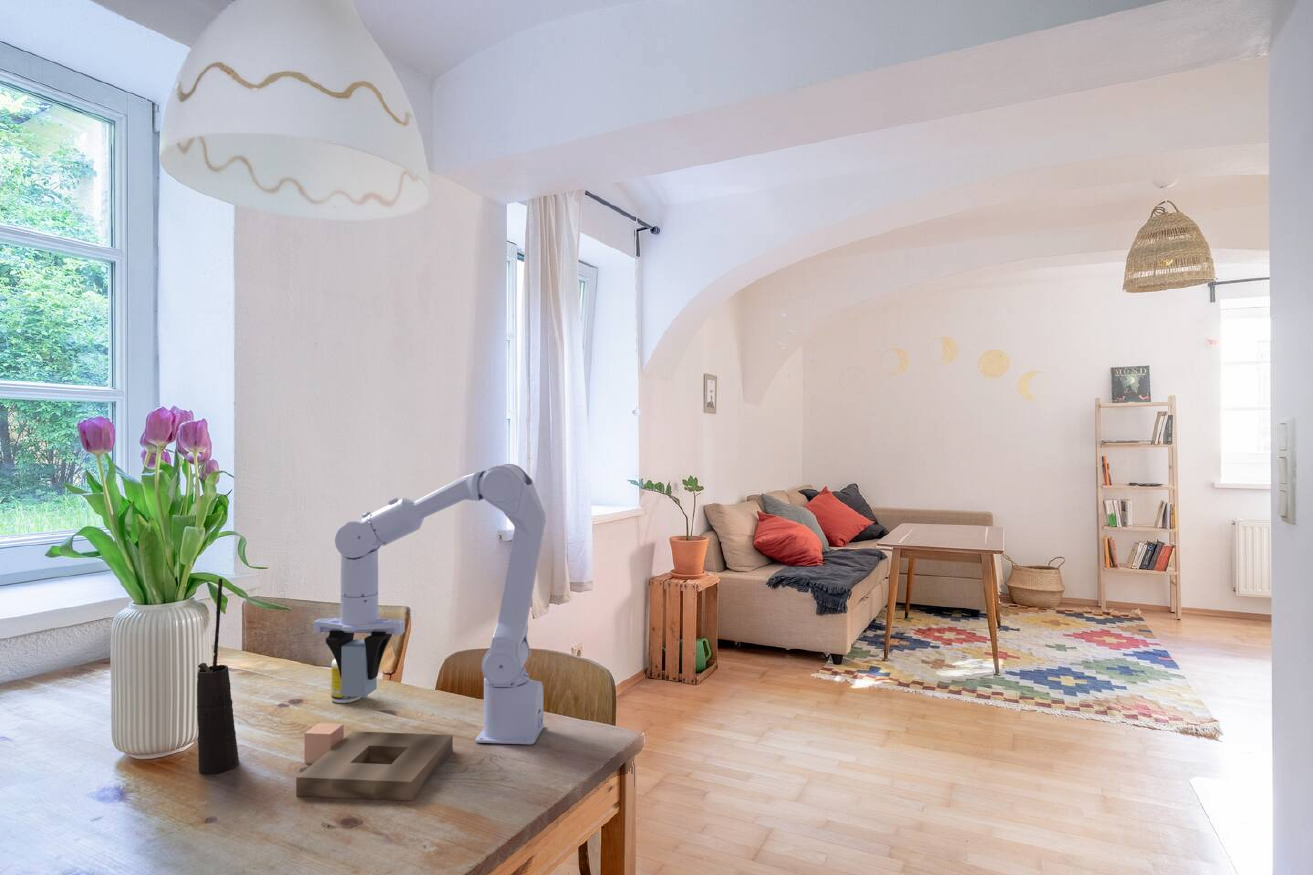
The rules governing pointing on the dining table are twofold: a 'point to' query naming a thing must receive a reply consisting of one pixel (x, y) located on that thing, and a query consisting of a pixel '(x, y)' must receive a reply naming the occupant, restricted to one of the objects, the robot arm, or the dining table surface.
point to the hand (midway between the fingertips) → (359, 677)
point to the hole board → (376, 766)
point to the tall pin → (355, 670)
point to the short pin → (321, 740)
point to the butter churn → (215, 712)
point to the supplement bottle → (338, 687)
